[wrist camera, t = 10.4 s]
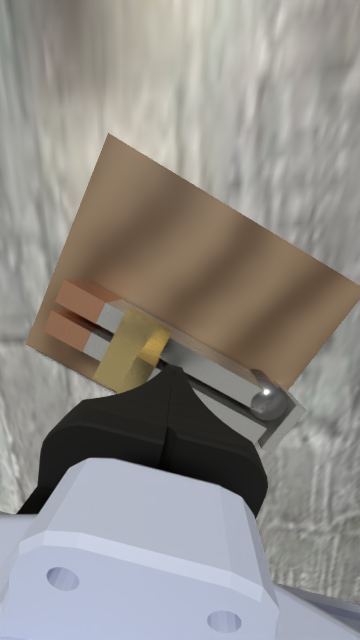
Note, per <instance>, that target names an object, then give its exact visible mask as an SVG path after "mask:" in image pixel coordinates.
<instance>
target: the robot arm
mask: <svg viewBox="0 0 360 640" xmlns="http://www.w3.org/2000/svg"><path fill="white" fill-rule="evenodd" d="M267 488H268V482H267V476H266V473H265V470H264V468H263V465H262V463H261V460H260V457H259V455H258V453H257V451H256V449H255V446H254V444H253V442H252V441H250V440H249V439H247V438H246V437H244V436H242V435H241V434H239V433H238V432H236V431H235V430H233V429H232V428H231V427H229V426H228V425H227V424H225V423H224V422H223V421H222V420H220V419H219V418H218V417H217V416H216V415H215V414H214V413H213V412H212V411H211V410H210V409H209V408H208V407H207V406H206V405H205V404H204V403H203V402H202V401H201V399H200V398H199V397H198V396H197V394H196V393H195V392H194V390H193V389H192V387H191V385H190V383H189V381H188V380H187V377H186V375H185V373H184V371H183V368H182V367H179V366H175V365H171V364H168V365H166V367H165V368H164V369H163V370H162V371H161V372H159V373H158V374H157V375H156V376H155V377H153V378H152V379H150V380H149V381H147V382H146V383H144V384H142V385H140V386H138V387H136V388H134V389H131V390H128V391H126V392H123V393H119V394H116V395H111V396H107V397H101V398H94V399H86V400H82V401H81V402H80V403H79V404H78V405H77V406H75V407H74V408H73V409H72V410H71V411H70V412H69V413H68V414H67V415H66V416H65V417H64V418H63V419H62V420H61V421H60V422H59V423H58V424H57V425H56V426H55V427H54V428H53V429H52V430H51V431H50V432H49V434H48V435H47V437H46V438H45V440H44V441H43V444H42V448H41V453H40V464H39V475H38V486H37V488H36V489H35V490H34V491H33V493H32V494H31V495H30V497H29V498H28V499H27V501H26V502H25V503H24V505H23V506H22V507H21V509H20V510H19V511H18V513H17V514H9V513H5V512H2V511H0V640H360V605H358V604H354V603H350V602H346V601H343V600H339V599H335V598H331V597H327V596H323V595H320V594H316V593H312V592H308V591H304V590H300V589H297V588H293V587H289V586H285V585H281V584H277V583H276V582H274V581H272V579H271V576H270V572H269V568H268V565H267V561H266V557H265V554H264V550H263V546H262V542H261V539H260V535H259V531H258V528H257V524H256V517H257V515H258V513H259V510H260V508H261V506H262V503H263V501H264V499H265V496H266V492H267Z"/></svg>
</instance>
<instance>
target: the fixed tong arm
mask: <svg viewBox="0 0 360 640" xmlns="http://www.w3.org/2000/svg"><path fill="white" fill-rule="evenodd" d="M43 331H44V332H46V333H48V334H50V335H52V336H54V337H55V338H57V339H59V340H61V341H63V342H65V343H66V344H68V345H70V346H72V347H74V348H76V349H78V350H79V351H81V352H84V353H86V354H88V355H90V356H91V357H93V358H95V359H97V360H99V361H101V360H102V358H103V356H104V354H105V352H106V350H107V348H108V346H109V344H110V342H111V340H112V338H113V336H114V333H112V332H111V331H109V330H107V329H105V328H103V327H101V326H100V325H98V324H95V323H93V322H91V321H90V320H88V319H86V318H84V317H82V316H80V315H79V314H77V313H75V312H73V311H71V310H69V309H68V308H61V309H56V310H51V313H50V315H49V318H48V320H47V322H46V325H45V327H44V330H43ZM168 364H169V363H167V362H166V361H164V360H162V359H160V358H159V360H158V362H157V364H156V367H155V369H154V370H153V372H152V374H151V375H150V377H149V379H148V381H149V380H150V379H152V378H153V377H155V376H156V375H157V374H158V373H159V372H161V371H162V370H163V369H164V368H165V367H166V365H168ZM184 373H185V375H186V377H187V380H188V381H189V383H190V385H191V387H192V389H193V390H194V392H195V393H196V394H197V396H198V397H199V398H200V399H201V401H202V402H203V403H204V404H205V405H206V406H207V407H208V408H209V409H210V410H211V411H212V412H213V413H214V414H215V415H216V416H217V417H218V418H219V419H220V420H222V421H223V422H224V423H225V424H227V425H228V426H229V427H231V428H232V429H233V430H235V431H236V432H238V433H239V434H241V435H242V436H244V437H246V438H247V439H249V440H250V441H252V442H253V444H255V443H256V442H257V441H258V443H259V445H260V447H261V449H263V450H265V451H266V452H268V453H271V452H272V451H273V450H274V449H275V447H276V446H277V445H278V444H279V443H280V442H281V440H282V439H283V438H284V437H285V436H286V434H287V433H288V432H289V431H290V430H291V428H292V427H293V426H294V425H295V424H296V423H297V421H298V420H299V419H300V418H301V417H302V415H303V414H304V413H305V412H306V410H305V409H304V407H303V406H302V405H301V404H300V403H299V402H298V401H297V400H296V399H295V398H294V396H293V395H292V394H291V393H290V392H289V391H288V390H287V389H286V388H285V387H284V385H282V384H280V383H279V382H277V381H275V382H274V383H273V384H274V385H275V386H276V387H277V389H278V390H279V391H280V392H281V394H282V395H283V396H284V398H285V400H286V409H285V411H284V413H283V414H282V415H281V416H280V417H278V418H276V419H273V420H262V419H259V418H257V417H256V416H255V415H254V414H253V413H252V411H251V409H250V407H248V406H246V405H244V404H243V403H241V402H239V401H237V400H235V399H233V398H232V397H230V396H228V395H226V394H224V393H222V392H221V391H219V390H217V389H215V388H213V387H211V386H210V385H208V384H206V383H204V382H202V381H200V380H199V379H197V378H195V377H193V376H191V375H189V374H188V373H186V372H184Z"/></svg>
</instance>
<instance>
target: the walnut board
mask: <svg viewBox="0 0 360 640" xmlns="http://www.w3.org/2000/svg"><path fill="white" fill-rule="evenodd" d="M64 279H66V280H90V281H92V282H94V283H96V284H97V285H99V286H101V287H103V288H105V289H106V290H108V291H110V292H112V293H114V294H115V295H117V296H119V297H121V298H123V299H124V300H126V301H127V302H129V303H131V304H133V305H135V306H136V307H138V308H140V309H142V310H144V311H145V312H147V313H149V314H151V315H152V316H154V317H156V318H158V319H160V320H161V321H163V322H165V323H167V324H169V325H170V326H172V327H174V328H176V329H178V330H179V331H181V332H183V333H185V334H187V335H188V336H190V337H192V338H194V339H196V340H197V341H199V342H201V343H203V344H205V345H206V346H208V347H210V348H212V349H214V350H215V351H217V352H219V353H221V354H223V355H224V356H226V357H228V358H230V359H232V360H233V361H235V362H237V363H239V364H241V365H242V366H244V367H246V368H248V369H250V370H251V369H258V370H261V371H263V372H264V373H265V374H266V375H267V377H268V378H269V379H270V380H271V381H272V383H274V382H275V381H277V382H279V383H280V384H282V385H284V387H285V388H286V389H287V390H288V389H289V388H290V387H291V386H292V384H293V383H294V382H295V380H296V379H297V378H298V377H299V375H300V374H301V373H302V372H303V370H304V369H305V368H306V367H307V365H308V364H309V363H310V361H311V360H312V359H313V358H314V356H315V355H316V354H317V353H318V351H319V350H320V349H321V348H322V346H323V345H324V344H325V343H326V341H327V340H328V339H329V337H330V336H331V335H332V334H333V332H334V331H335V330H336V329H337V327H338V326H339V325H340V324H341V322H342V321H343V320H344V319H345V317H346V316H347V315H348V313H349V312H350V311H351V310H352V308H353V307H354V306H355V305H356V303H357V302H358V301H359V300H360V286H359V285H358V284H356V283H354V282H353V281H351V280H349V279H348V278H346V277H344V276H343V275H341V274H339V273H338V272H336V271H335V270H333V269H331V268H330V267H328V266H326V265H325V264H323V263H321V262H320V261H318V260H316V259H315V258H313V257H311V256H310V255H308V254H307V253H305V252H303V251H302V250H300V249H298V248H297V247H295V246H293V245H292V244H290V243H288V242H287V241H285V240H283V239H282V238H280V237H279V236H277V235H275V234H274V233H272V232H270V231H269V230H267V229H265V228H264V227H262V226H260V225H259V224H257V223H256V222H254V221H252V220H251V219H249V218H247V217H246V216H244V215H242V214H241V213H239V212H237V211H236V210H234V209H232V208H231V207H229V206H228V205H226V204H224V203H223V202H221V201H219V200H218V199H216V198H214V197H213V196H211V195H209V194H208V193H206V192H204V191H203V190H201V189H200V188H198V187H196V186H195V185H193V184H191V183H190V182H188V181H186V180H185V179H183V178H181V177H180V176H178V175H176V174H175V173H173V172H172V171H170V170H168V169H167V168H165V167H163V166H162V165H160V164H158V163H157V162H155V161H153V160H152V159H150V158H148V157H147V156H145V155H144V154H142V153H140V152H139V151H137V150H135V149H134V148H132V147H130V146H129V145H127V144H125V143H124V142H122V141H120V140H119V139H117V138H116V137H114V136H112V135H111V134H109V133H108V135H107V138H106V140H105V143H104V145H103V148H102V151H101V153H100V156H99V158H98V161H97V163H96V166H95V168H94V171H93V174H92V176H91V179H90V181H89V184H88V186H87V189H86V191H85V194H84V197H83V199H82V202H81V204H80V207H79V209H78V212H77V215H76V217H75V220H74V222H73V225H72V227H71V230H70V232H69V235H68V238H67V240H66V243H65V245H64V248H63V250H62V253H61V255H60V258H59V261H58V263H57V266H56V268H55V271H54V273H53V276H52V279H51V281H50V284H49V286H48V289H47V291H46V294H45V296H44V299H43V302H42V304H41V307H40V309H39V312H38V314H37V317H36V319H35V322H34V325H33V327H32V330H31V332H30V335H29V337H28V340H27V343H26V345H28V346H30V347H32V348H34V349H36V350H37V351H39V352H41V353H43V354H45V355H47V356H49V357H51V358H52V359H54V360H56V361H58V362H60V363H62V364H64V365H65V366H67V367H69V368H71V369H73V370H75V371H77V372H78V373H80V374H82V375H84V376H86V377H88V378H90V379H92V380H93V381H95V382H97V383H99V384H101V385H103V386H105V387H106V388H108V389H110V390H112V391H114V392H116V393H117V391H115V390H113V389H112V388H110V387H108V386H106V385H104V384H102V383H100V382H98V381H97V380H95V379H93V376H94V374H95V372H96V370H97V368H98V366H99V364H100V362H101V361H99V360H97V359H95V358H93V357H91V356H90V355H88V354H86V353H84V352H81V351H79V350H78V349H76V348H74V347H72V346H70V345H68V344H66V343H65V342H63V341H61V340H59V339H57V338H55V337H54V336H52V335H50V334H48V333H46V332H44V331H43V330H44V327H45V325H46V322H47V320H48V318H49V315H50V313H51V310H56V309H61V308H66V307H64V306H62V305H60V304H58V303H57V302H55V301H56V298H57V296H58V293H59V290H60V288H61V285H62V283H63V280H64Z"/></svg>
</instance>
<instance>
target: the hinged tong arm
mask: <svg viewBox="0 0 360 640" xmlns="http://www.w3.org/2000/svg"><path fill="white" fill-rule="evenodd" d="M55 302H57V303H58V304H60V305H62V306H64V307H66V308H68V309H69V310H71V311H73V312H75V313H77V314H79V315H80V316H82V317H84V318H86V319H88V320H90V321H91V322H93V323H95V324H98V325H100V326H101V327H103V328H105V329H107V330H109V331H111V332H112V333H114V334H115V332H116V330H117V328H118V326H119V324H120V322H121V320H122V318H123V316H124V314H125V312H126V310H127V309H128V308H131V307H132V308H134V309H136V310H137V311H139V312H141V313H143V314H145V315H146V316H148V317H150V318H152V319H153V320H155V321H157V322H159V323H161V324H162V325H164V326H166V327H168V328H169V329H171V330H173V332H172V334H171V336H170V338H169V339H168V341H167V343H166V345H165V346H164V348H163V351H162V353H161V355H160V359H162V360H164V361H166V362H167V363H169V364H171V365H175V366H179V367H182V368H183V371H184V372H186V373H188V374H189V375H191V376H193V377H195V378H197V379H199V380H200V381H202V382H204V383H206V384H208V385H210V386H211V387H213V388H215V389H217V390H219V391H221V392H222V393H224V394H226V395H228V396H230V397H232V398H233V399H235V400H237V401H239V402H241V403H243V404H244V405H246V406H248V407H250V409H251V411H252V413H253V414H254V415H255V416H256V417H257V418H259V419H262V420H273V419H276V418H278V417H280V416H281V415H282V414H283V413H284V411H285V409H286V400H285V398H284V396H283V395H282V394H281V392H280V391H279V390H278V389H277V387H276V386H275V385H274V384H273V383H272V381H271V380H270V379H269V378H268V377H267V375H266V374H265V373H264V372H263V371H261V370H258V369H251V370H250V369H248V368H246V367H244V366H242V365H241V364H239V363H237V362H235V361H233V360H232V359H230V358H228V357H226V356H224V355H223V354H221V353H219V352H217V351H215V350H214V349H212V348H210V347H208V346H206V345H205V344H203V343H201V342H199V341H197V340H196V339H194V338H192V337H190V336H188V335H187V334H185V333H183V332H181V331H179V330H178V329H176V328H174V327H172V326H170V325H169V324H167V323H165V322H163V321H161V320H160V319H158V318H156V317H154V316H152V315H151V314H149V313H147V312H145V311H144V310H142V309H140V308H138V307H136V306H135V305H133V304H131V303H129V302H127V301H126V300H124V299H123V298H121V297H119V296H117V295H115V294H114V293H112V292H110V291H108V290H106V289H105V288H103V287H101V286H99V285H97V284H96V283H94V282H92V281H90V280H66V279H64V280H63V283H62V285H61V288H60V290H59V293H58V296H57V298H56V301H55Z"/></svg>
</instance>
